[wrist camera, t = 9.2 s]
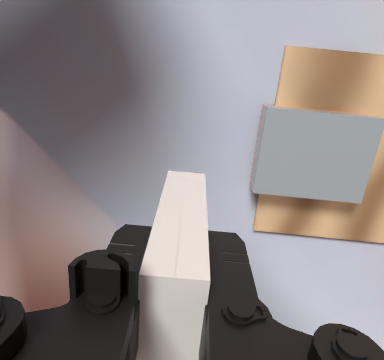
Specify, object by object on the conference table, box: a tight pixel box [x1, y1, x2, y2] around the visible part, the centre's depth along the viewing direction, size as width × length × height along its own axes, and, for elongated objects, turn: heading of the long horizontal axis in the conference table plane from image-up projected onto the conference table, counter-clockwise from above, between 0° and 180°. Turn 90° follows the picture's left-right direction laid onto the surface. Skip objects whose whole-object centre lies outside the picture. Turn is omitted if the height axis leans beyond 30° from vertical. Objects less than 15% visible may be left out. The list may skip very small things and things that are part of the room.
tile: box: [250, 104, 384, 204], centre depth 26 cm, size 2×7×9 cm
